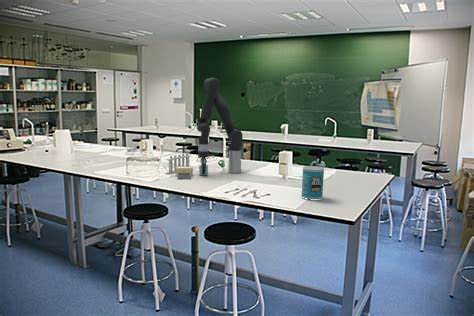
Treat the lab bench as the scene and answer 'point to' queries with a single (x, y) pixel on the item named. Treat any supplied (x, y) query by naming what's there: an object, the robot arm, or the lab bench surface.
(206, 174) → the stub
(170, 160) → the test tube rack
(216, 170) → the lab bench surface
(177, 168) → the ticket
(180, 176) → the tray
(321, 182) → the food can
